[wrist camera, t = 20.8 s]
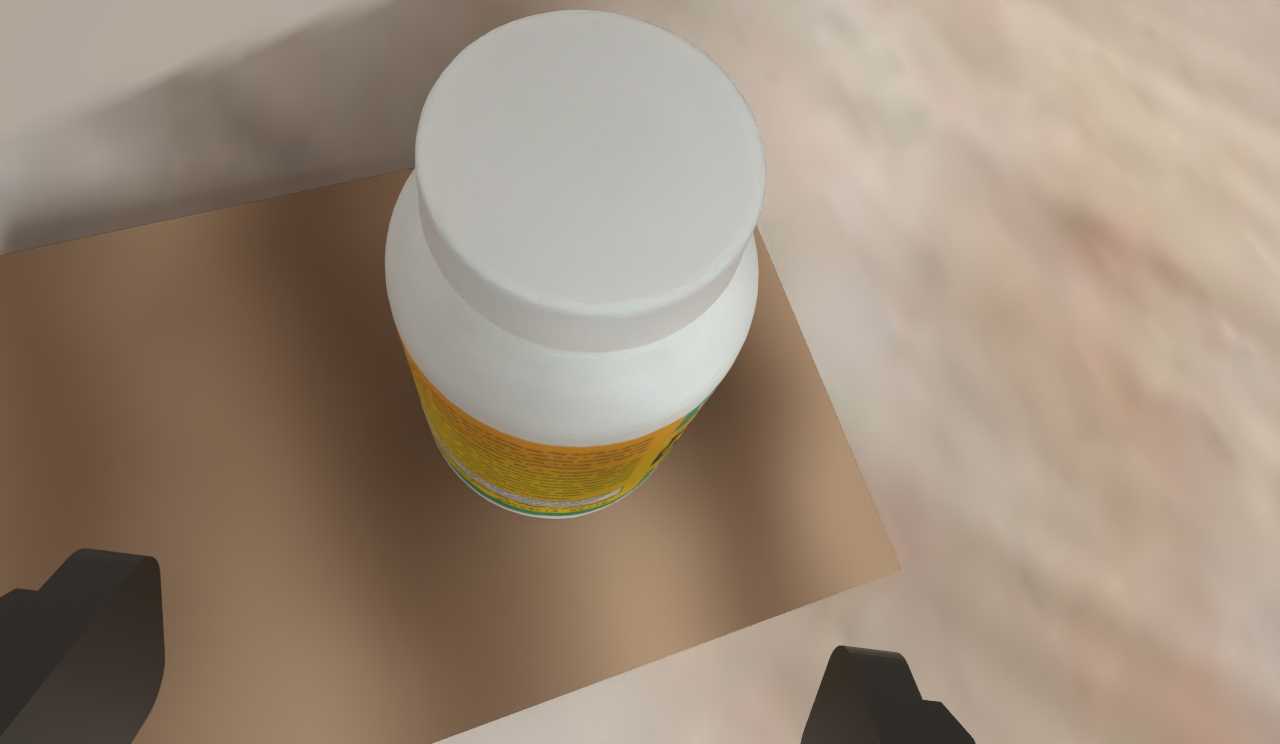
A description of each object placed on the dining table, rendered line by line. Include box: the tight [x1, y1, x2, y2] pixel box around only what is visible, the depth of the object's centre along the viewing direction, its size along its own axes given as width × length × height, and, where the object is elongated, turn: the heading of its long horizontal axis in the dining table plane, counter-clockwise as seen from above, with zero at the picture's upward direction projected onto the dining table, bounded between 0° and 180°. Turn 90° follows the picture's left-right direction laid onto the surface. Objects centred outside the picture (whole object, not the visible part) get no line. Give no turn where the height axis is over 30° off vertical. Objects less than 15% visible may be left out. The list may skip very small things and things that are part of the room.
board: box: [0, 168, 902, 744], centre depth 20 cm, size 18×12×4 cm, turn 109°
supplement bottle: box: [385, 10, 766, 519], centre depth 14 cm, size 5×5×10 cm
